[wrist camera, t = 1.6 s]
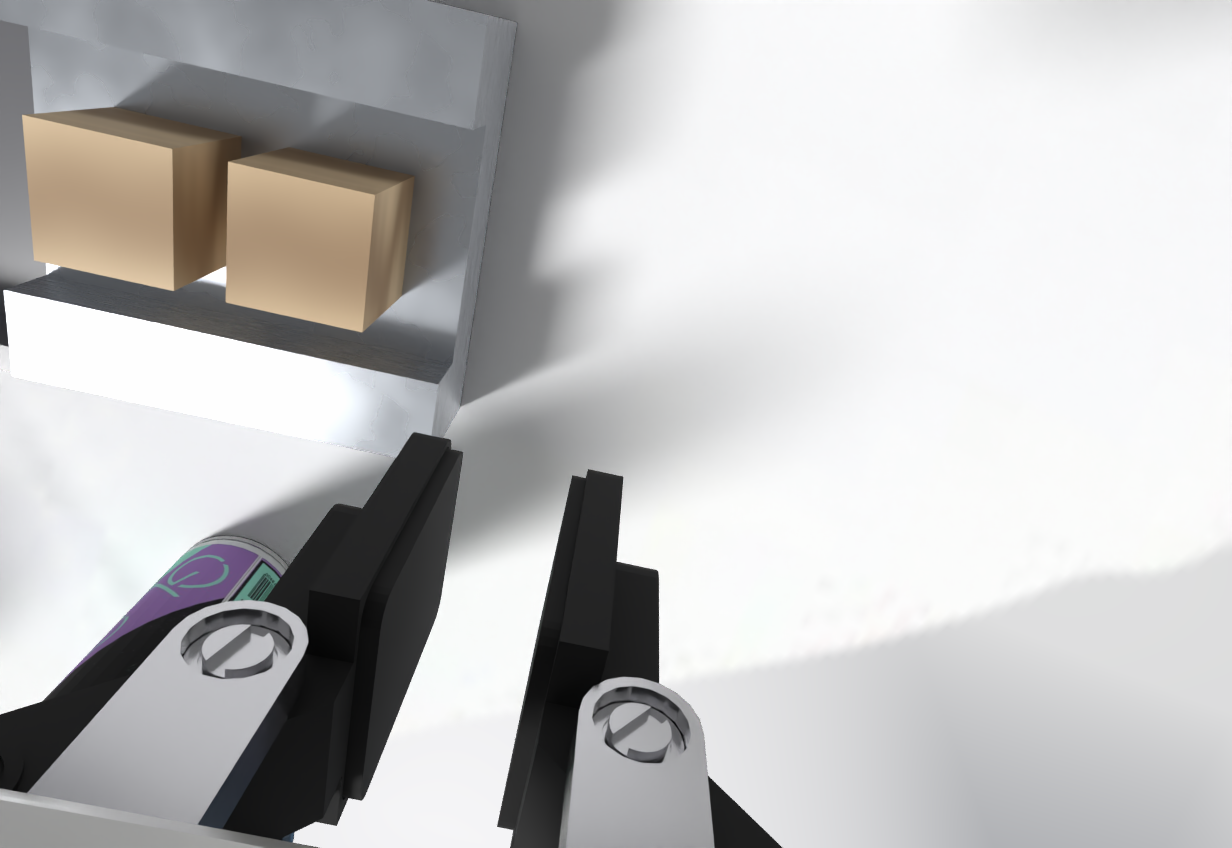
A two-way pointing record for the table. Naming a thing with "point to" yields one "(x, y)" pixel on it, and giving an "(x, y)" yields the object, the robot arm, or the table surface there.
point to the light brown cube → (316, 237)
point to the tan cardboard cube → (128, 194)
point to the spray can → (178, 605)
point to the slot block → (267, 121)
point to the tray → (14, 172)
